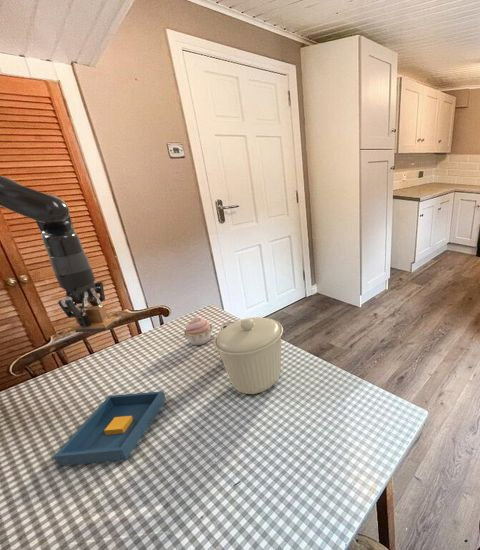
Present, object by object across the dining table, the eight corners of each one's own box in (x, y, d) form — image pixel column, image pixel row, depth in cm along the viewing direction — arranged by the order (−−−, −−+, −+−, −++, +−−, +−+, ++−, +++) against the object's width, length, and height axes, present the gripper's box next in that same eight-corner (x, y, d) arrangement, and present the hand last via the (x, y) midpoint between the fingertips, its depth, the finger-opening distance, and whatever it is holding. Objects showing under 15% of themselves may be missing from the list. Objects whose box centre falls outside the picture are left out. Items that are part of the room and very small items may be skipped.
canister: (242, 415, 78) (227, 347, 70) (214, 381, 90) (199, 320, 82) (300, 380, 90) (293, 318, 82) (269, 354, 102) (261, 298, 94)
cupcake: (203, 350, 104) (196, 325, 101) (180, 346, 107) (173, 321, 103) (221, 335, 113) (215, 311, 109) (199, 332, 115) (194, 309, 111)
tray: (59, 468, 65) (53, 456, 64) (113, 405, 82) (109, 395, 80) (127, 461, 67) (122, 449, 65) (166, 401, 83) (163, 391, 82)
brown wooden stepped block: (73, 333, 88) (64, 313, 86) (85, 324, 93) (77, 304, 90) (106, 331, 89) (99, 311, 87) (117, 322, 94) (110, 303, 91)
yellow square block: (105, 435, 72) (103, 430, 72) (116, 421, 76) (114, 417, 76) (123, 433, 73) (121, 428, 72) (133, 420, 76) (131, 415, 76)
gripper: (77, 260, 90) (96, 311, 96) (34, 279, 77) (60, 336, 83) (104, 259, 91) (121, 309, 97) (67, 277, 78) (90, 334, 84)
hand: (93, 321), depth 90 cm, fingers closed on brown wooden stepped block, 5 cm apart
